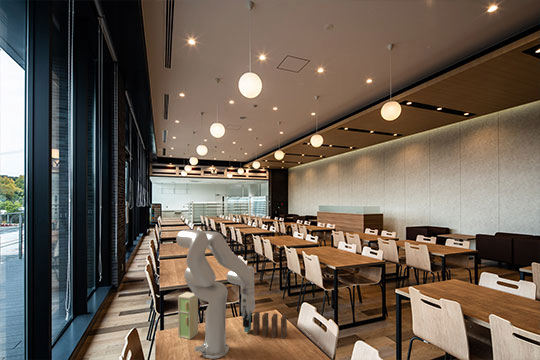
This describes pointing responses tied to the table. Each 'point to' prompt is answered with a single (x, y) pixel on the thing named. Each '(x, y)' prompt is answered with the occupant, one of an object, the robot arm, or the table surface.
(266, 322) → the domino
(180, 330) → the toy refrigerator
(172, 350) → the table surface
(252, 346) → the table surface
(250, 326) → the domino
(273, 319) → the domino
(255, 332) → the domino
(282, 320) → the domino
